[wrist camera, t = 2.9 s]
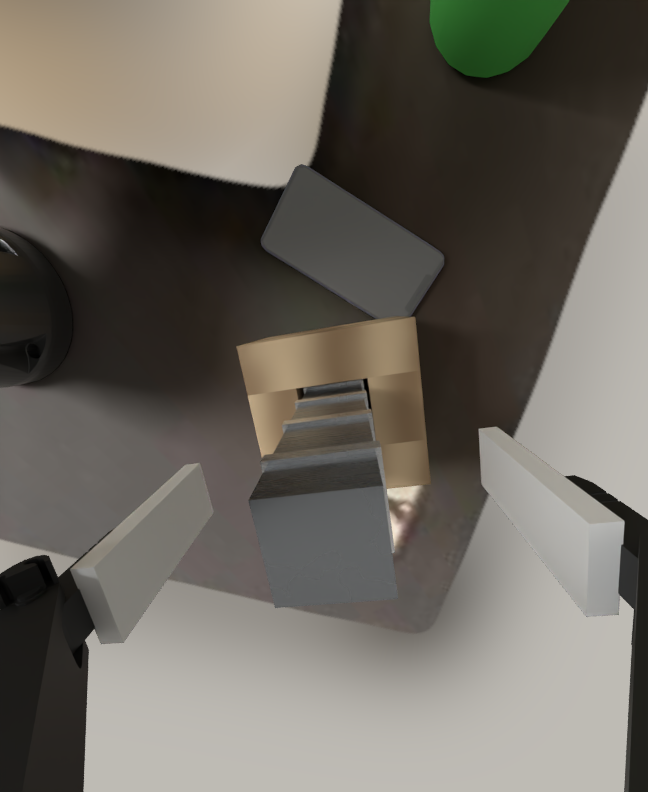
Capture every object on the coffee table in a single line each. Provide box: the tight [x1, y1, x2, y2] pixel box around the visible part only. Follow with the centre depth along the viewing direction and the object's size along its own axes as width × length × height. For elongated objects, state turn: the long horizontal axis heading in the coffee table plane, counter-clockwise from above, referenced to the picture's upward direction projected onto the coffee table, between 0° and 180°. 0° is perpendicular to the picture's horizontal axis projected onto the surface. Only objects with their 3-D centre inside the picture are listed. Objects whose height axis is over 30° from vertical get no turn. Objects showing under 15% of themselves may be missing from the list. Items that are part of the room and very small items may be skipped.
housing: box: [236, 316, 431, 489], centre depth 26 cm, size 12×12×11 cm
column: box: [248, 379, 398, 608], centre depth 20 cm, size 4×4×22 cm
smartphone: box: [261, 164, 444, 319], centre depth 28 cm, size 8×1×15 cm
